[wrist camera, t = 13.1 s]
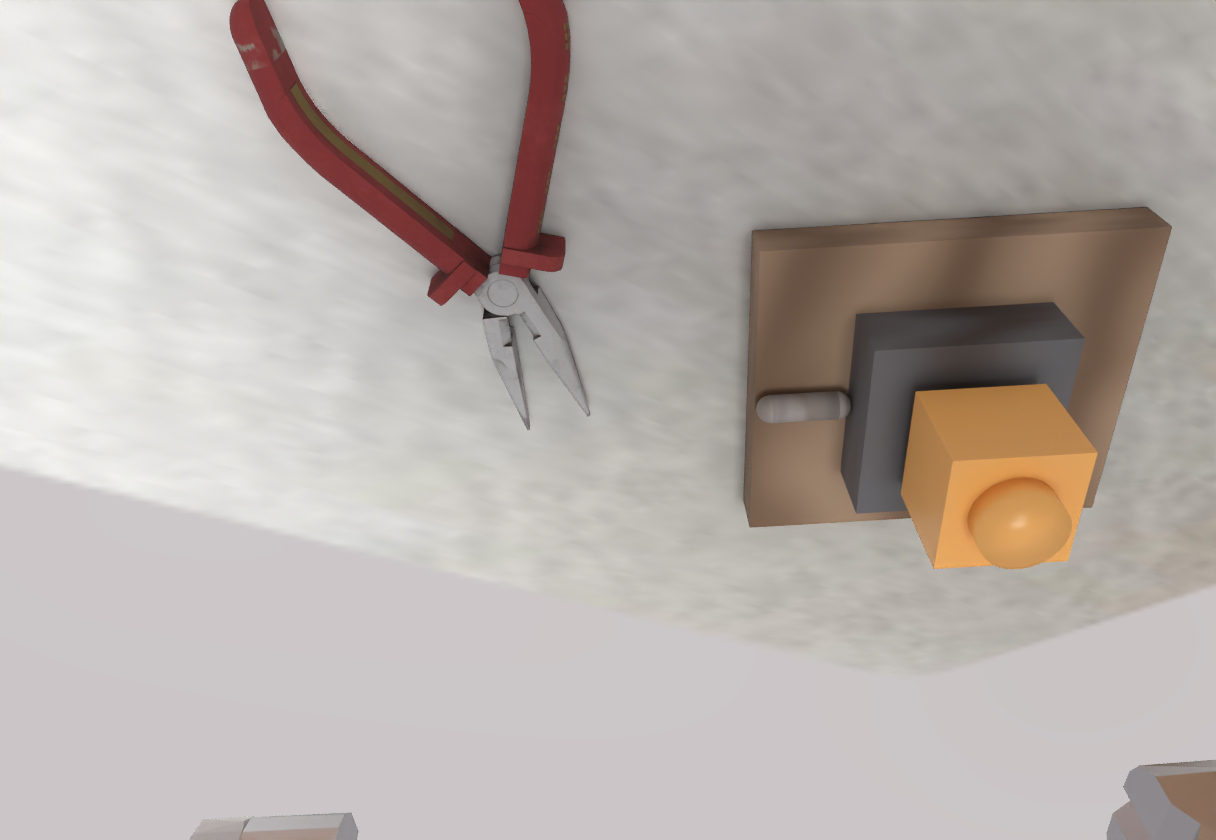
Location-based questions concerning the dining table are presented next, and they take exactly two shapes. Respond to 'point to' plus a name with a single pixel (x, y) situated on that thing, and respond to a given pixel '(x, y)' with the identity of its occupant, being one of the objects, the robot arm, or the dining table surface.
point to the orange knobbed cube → (995, 476)
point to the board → (926, 277)
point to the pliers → (418, 224)
